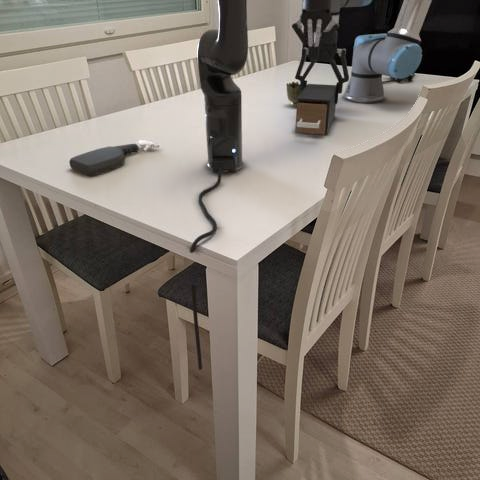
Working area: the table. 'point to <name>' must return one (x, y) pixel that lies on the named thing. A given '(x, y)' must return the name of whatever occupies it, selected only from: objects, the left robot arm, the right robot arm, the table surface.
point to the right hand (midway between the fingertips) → (319, 102)
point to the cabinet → (320, 100)
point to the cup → (293, 92)
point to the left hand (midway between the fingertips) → (313, 60)
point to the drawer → (311, 117)
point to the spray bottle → (106, 157)
